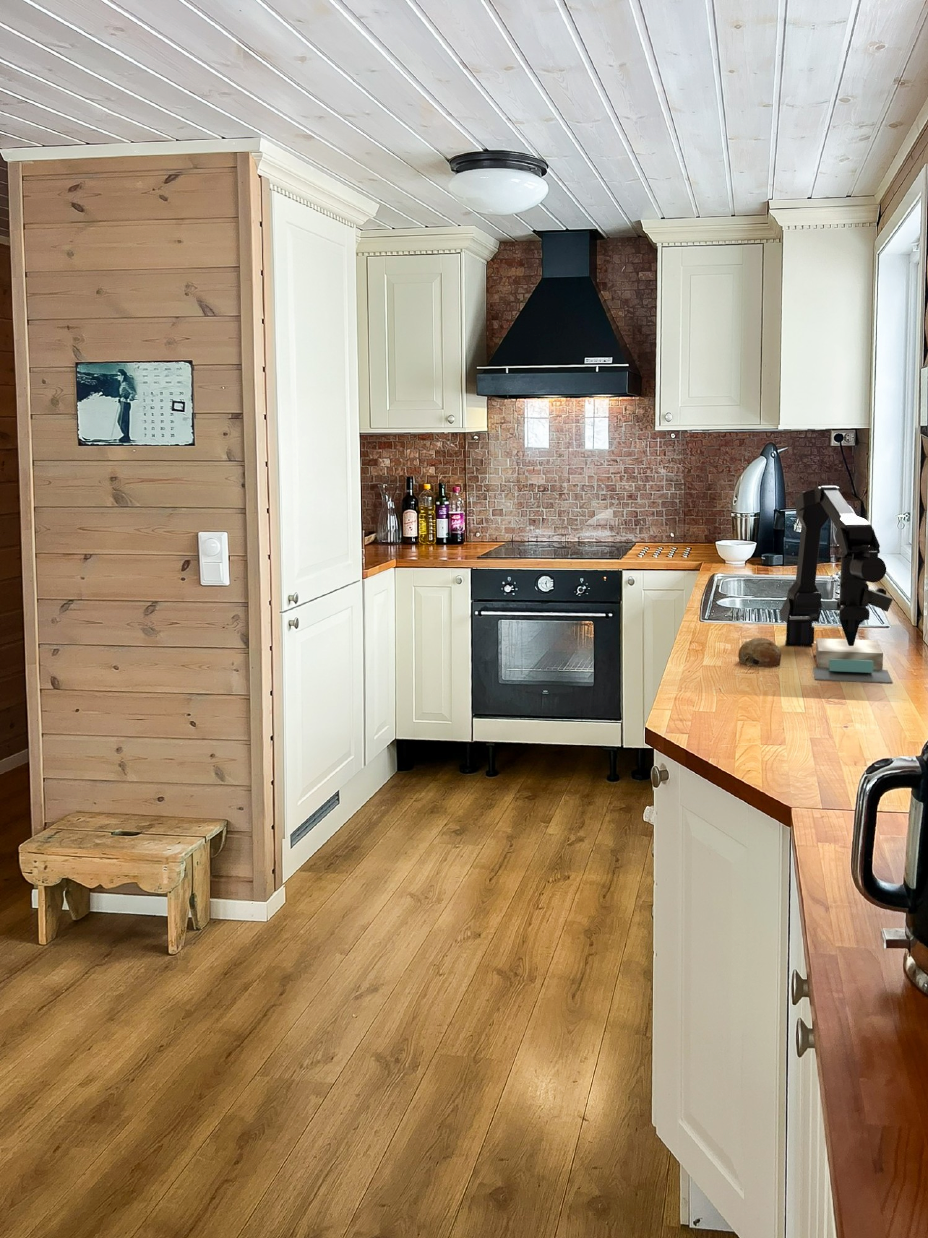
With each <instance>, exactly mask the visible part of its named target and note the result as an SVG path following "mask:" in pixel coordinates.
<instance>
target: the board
mask: <svg viewBox="0 0 928 1238" xmlns="http://www.w3.org/2000/svg"><path fill="white" fill-rule="evenodd" d="M815 645H816V646H815V647H816V648H815V649H816V650H815V657H816V663H817V667H828V668H829V659H843V660H868V661H873V669H876V670H883V669H884V668H883V665H884V652H883V649H882V648H881V646H880V644H879V641H878V640H876V639H874V640H873V639H855V642H854V646H849V645H848V643H847V640H846V638H823V637H822V638H819V637H817V638H816V643H815Z"/></svg>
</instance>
